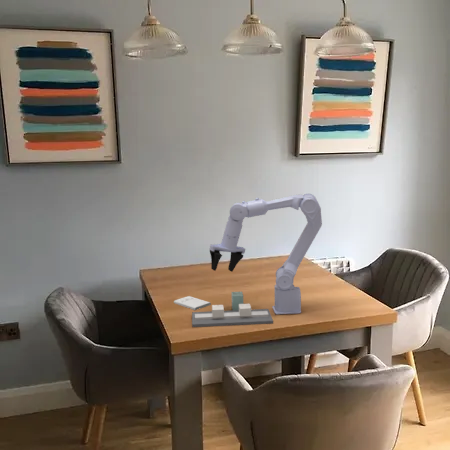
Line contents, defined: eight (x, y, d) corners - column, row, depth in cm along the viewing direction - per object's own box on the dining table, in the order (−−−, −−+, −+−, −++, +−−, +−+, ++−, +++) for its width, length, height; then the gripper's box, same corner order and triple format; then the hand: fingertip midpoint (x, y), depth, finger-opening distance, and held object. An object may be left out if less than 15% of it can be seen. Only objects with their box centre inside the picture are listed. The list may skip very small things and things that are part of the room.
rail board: (268, 311, 197) (268, 299, 197) (273, 323, 186) (273, 310, 185) (192, 314, 196) (191, 302, 195) (192, 327, 184) (191, 314, 183)
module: (242, 306, 203) (242, 291, 202) (243, 311, 198) (243, 295, 197) (231, 307, 203) (231, 291, 202) (232, 311, 198) (232, 296, 197)
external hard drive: (194, 311, 201) (173, 304, 209) (210, 306, 206) (189, 299, 215) (194, 307, 200) (173, 300, 209) (210, 302, 206) (189, 295, 215)
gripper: (241, 233, 201) (232, 266, 204) (209, 229, 193) (200, 265, 196) (252, 239, 196) (242, 274, 199) (219, 236, 188) (209, 272, 190)
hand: (221, 270), depth 197 cm, fingers open, 7 cm apart
